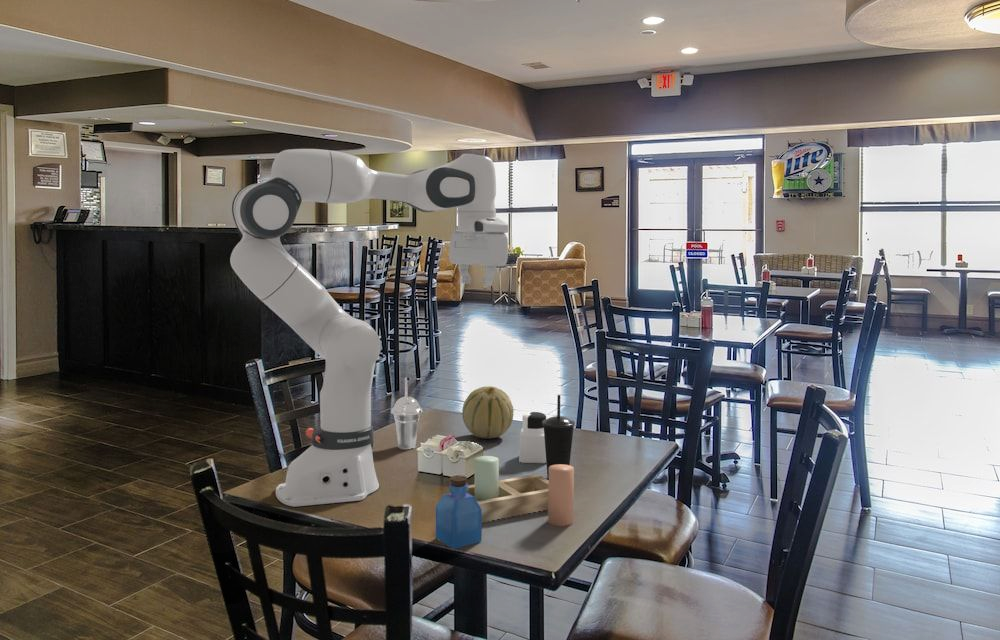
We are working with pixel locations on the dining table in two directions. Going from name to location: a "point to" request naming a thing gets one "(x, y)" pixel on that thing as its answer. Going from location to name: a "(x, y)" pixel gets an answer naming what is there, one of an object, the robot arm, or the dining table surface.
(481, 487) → the green peg
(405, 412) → the cup with straw
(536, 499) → the wooden tray
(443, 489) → the dining table surface
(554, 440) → the drinking cup
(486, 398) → the cantaloupe
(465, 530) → the perfume bottle
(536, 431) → the medicine bottle
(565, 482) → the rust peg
